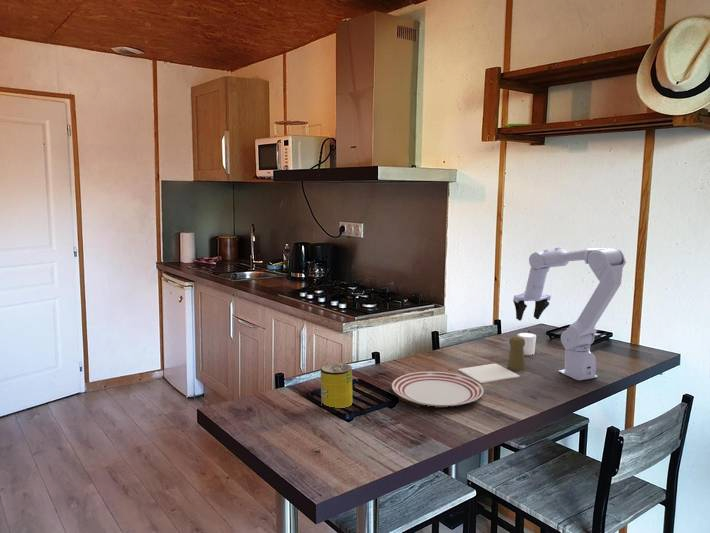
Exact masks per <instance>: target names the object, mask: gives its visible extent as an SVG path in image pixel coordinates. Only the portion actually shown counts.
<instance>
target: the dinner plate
mask: <svg viewBox="0 0 710 533" xmlns="http://www.w3.org/2000/svg"><path fill="white" fill-rule="evenodd" d="M391 388H392V391H393V392H394V394H396V395H397V396H399V398H400V397H401V398H402V399H404V400H406V401H409V402H411V403H414V404H417V405H422V406H425V405H427V406H426V407H430V406H435V407H434V408H449V407H448V406H451V407H455V406H456V407H457V406H461V405H465V404H469V403H472V402H475V401H477V400H479V399H480V398H481V397H483V394H484V388H483V386H482V385H481V383H479V382H477V381H476V380H474V379H472V378H470V377H469V376H466V375H465V376H464V375H462V374H457V373H452V372H445V371H418V372H417V371H416V372H410V373H407V374H404V375H401V376H398V377H397V378H395V379H394V380H393V381H392V384H391Z"/></svg>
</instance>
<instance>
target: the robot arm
mask: <svg viewBox="0 0 710 533" xmlns="http://www.w3.org/2000/svg"><path fill="white" fill-rule="evenodd" d="M575 261H576V262H577V261H584V262H585V264H586V265H588V266H589V267H590V269H591V270H592V272H593V273H594V275H595V277H596V278H597V280H598V281H599V283H598V285H597V286H596V288H595V290H594V291H593V293H592V295H590V297H589V300H588V302H587V304H586V305H585V307H584V308H583V309H582V311H581V313H580V315H579V316H578V318H577V320H576V321H574V322H573V323H571V324H570V325H569V326H568V328H567V329H565V330H563V332H562V333H561V335H560V342H561V344H562V346H563V347H564V348H563V349H565V351H564V353H565V355H564V369H560V370H558V372H559V373H561V374H563V375H564V376H565V375H566V376H568V377H570V378H571V379H573V380H576V381H585V380H589V379H590V380H591V379H594V378H598V375H597V357H596V355H595V354H593V353H592V352H591V350H590V349H591V345H592V344H593V343H594V341H595V336H596V335H595V334H596V333H597V332H598V329H597V328H596V325H597V323H599V320H600V318H601V317H602V315H603V313H604V312H605V311H606V309H607V308H608V306H609V304H610V302H611V301H612V299H613V298H614V296H615V294H616V293H617V291H618V290H619V288H620V287H621V285H622V277H623V269H624V267H625V265H626V263H627V261H626V258H625V255H624V253H623V251H622V250H621V249H619V248H617V247H611V248H607V247H594V248H593V247H591V248H584V249H578V250H573V251H567V250H566V249H564V248H561V247H555V248H554V249H552V250H551V249H550V250H549V249H544V250H543V251H538V252H537V251H534V252H533V253H531V254H530V255H529V258H528V263H529V265H530V269H529V274H528V278H527V283H526V287H525V290H524V292H523V293H520V294H517V295H513V299H512V300H513V304H514V308H515V318H516V320H518V321H522V319H523V318H524V317H523V316H524V314H525V310H526V308H527V307H528V304H526V303H525V302H532V301H533V302H534V304H535V305H534V312H533V318H535V320H539V318H540V317H541V315H542V314H543V312H544V311H545V310H546V309H547V308H548V307H549V306H550V302H549V301H551V297H552V295H550V294H549V293H543V291H544V287H545V284H546V279H547V275H548V272H549V270H550V268H556V267H557V268H558V267H565V266H567V265H568V264H569V262H575Z"/></svg>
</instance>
